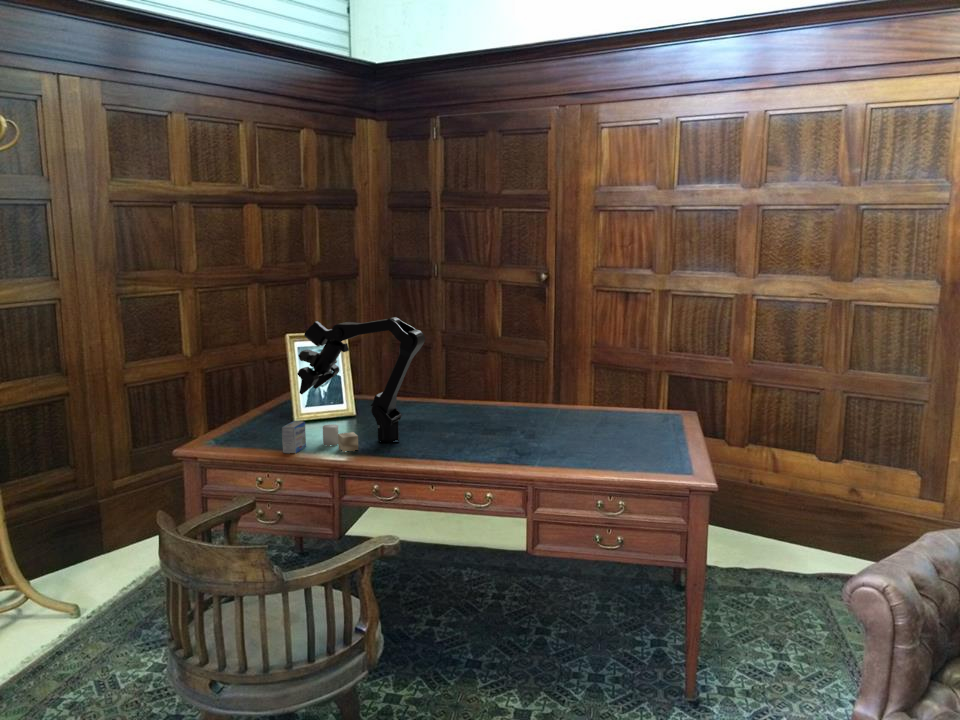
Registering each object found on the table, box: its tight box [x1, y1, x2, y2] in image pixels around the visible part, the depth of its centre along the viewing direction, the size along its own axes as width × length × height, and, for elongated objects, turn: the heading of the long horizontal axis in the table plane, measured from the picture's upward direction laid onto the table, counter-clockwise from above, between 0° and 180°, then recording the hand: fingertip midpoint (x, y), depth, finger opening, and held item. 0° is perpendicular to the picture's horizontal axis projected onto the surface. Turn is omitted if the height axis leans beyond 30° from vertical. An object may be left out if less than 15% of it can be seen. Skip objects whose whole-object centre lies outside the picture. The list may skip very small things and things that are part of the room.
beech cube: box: [337, 431, 359, 453], centre depth 254 cm, size 5×5×5 cm
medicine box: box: [281, 420, 307, 454], centre depth 253 cm, size 8×4×9 cm, turn 167°
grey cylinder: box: [322, 423, 339, 447], centre depth 260 cm, size 5×5×6 cm
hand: (307, 390), depth 271 cm, fingers open, 9 cm apart
